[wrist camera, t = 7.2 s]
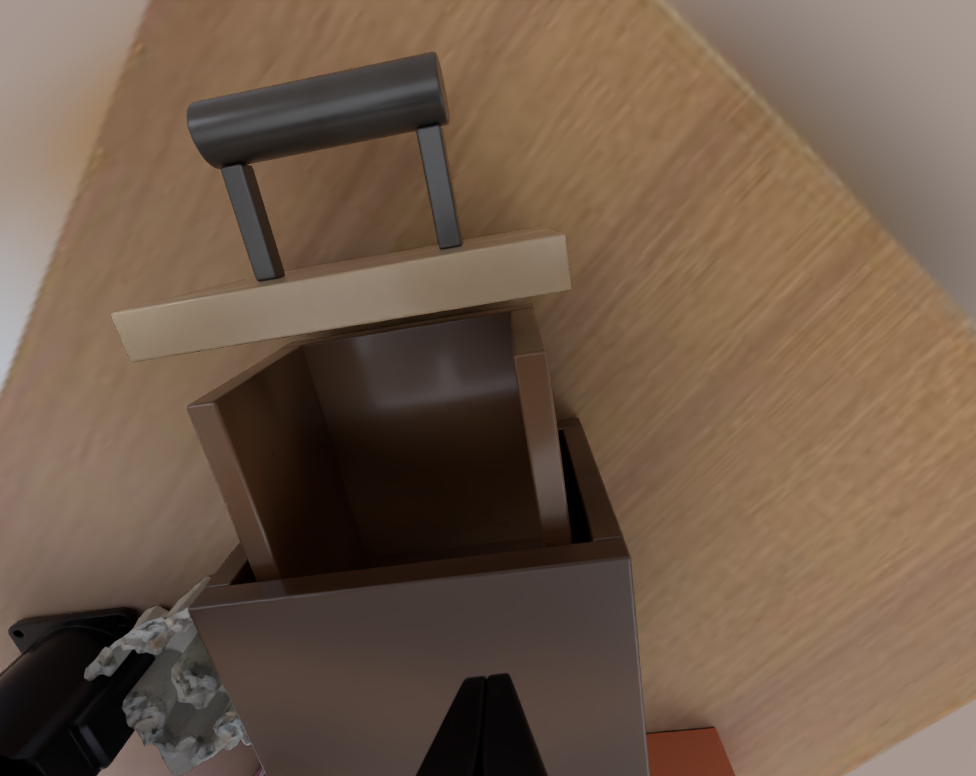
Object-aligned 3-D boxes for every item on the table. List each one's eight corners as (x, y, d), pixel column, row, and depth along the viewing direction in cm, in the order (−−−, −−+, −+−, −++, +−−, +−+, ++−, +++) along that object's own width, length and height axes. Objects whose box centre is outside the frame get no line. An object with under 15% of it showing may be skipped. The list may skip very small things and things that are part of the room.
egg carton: (290, 524, 22) (250, 588, 18) (379, 636, 24) (360, 714, 21) (113, 614, 24) (41, 690, 20) (211, 711, 26) (163, 797, 22)
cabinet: (309, 455, 21) (185, 609, 13) (579, 417, 20) (631, 556, 12) (384, 686, 25) (328, 908, 17) (608, 663, 24) (660, 888, 16)
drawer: (210, 144, 16) (15, 97, 10) (523, 80, 15) (538, -18, 9) (345, 559, 22) (278, 706, 15) (580, 531, 21) (614, 673, 14)
